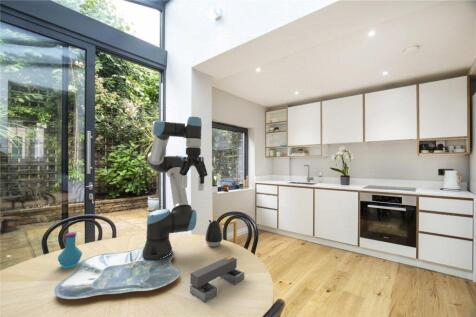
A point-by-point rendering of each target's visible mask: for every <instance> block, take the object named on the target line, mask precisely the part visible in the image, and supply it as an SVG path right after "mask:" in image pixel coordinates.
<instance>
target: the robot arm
mask: <svg viewBox="0 0 476 317" xmlns="http://www.w3.org/2000/svg"><path fill="white" fill-rule="evenodd" d="M202 126H203V125H202V118H201V117H199V116H188V117H187V118H186V121H185V123H183V122H182V123H181V122H174V121H166V120H164V121H163V120H154V121H153V122H152V128H151V129H152V134H153V135H154V137H153V142H152V145H151V150H150V152H149V153H148V155H147V158H146V160H147V161H146V162H147V164H148V166H149V168H150V169H151V170H153V171H154V172H156V173H161V174H162V173H164V174H165V173H166V176H167V177H168V178H169V183H170V190H171V198H172V204H173V208H172V209H171V211H170V209H169V208H162V209H157V210H153V211H151V212H149V213H148V214H147V216H146V217H147V218H146V241H145V243H144V244H145V245H144V246H143V249H142V254H141V256H142V258H143V259H144V260H149V261H156V259H159V260H161V259H160V258H163V257H165V256H167V255H169V254H170V253H171V252H172V253H173V247H172V244H171V240H170V234H174V233H175V234H178V233H184V232H190V231H193V230H195V228H196V225H197V220H198V219H197V215H198V214H197V211H196V210H195V209H193V207H192V205H191V204H189V200H188V196H187V195H188V194H187V190H186V189H187V188H188V172H189V171H190V169H191V167H193V166H194V168H195V169H196V171H197V174H198V182H197V184H198V185H197V188H198V189H197V191H198V192H200V191H201V192H202V191H204V188H205V186H204V184H205V177H208V175H209V174H208V171H207V168H206V165H205V161H204V160H205V159H204V158H205V157H203V156H201V153H202V149H201V147H202ZM170 137H174V138H175V137H178V138H184V139H185V140H186V141H185V146H186V147H185V155H186V156H183V155H164V154H165V152H166V149H167V145H168V143H169V139H170ZM163 259H164V258H163Z"/></svg>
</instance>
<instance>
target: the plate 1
mask: <svg viewBox="0 0 476 317" xmlns="http://www.w3.org/2000/svg"><path fill="white" fill-rule="evenodd" d="M201 287H202V288H204V291H202V290H201V289H200V287H199V288H196V287H195V286H193V285H192V284H190V285H189V293H190V294H191V295H192V296H194V298H195V297H196V298H197V299H198V300H199V301H200V302H203V303H204V304H206V303H207V302H209V301H211V300H213V299H214V298H216V297H217V296H218V287H216V286H215V285H213V284H211V283H210V282H208V283H206V284H204V285H202V286H201Z"/></svg>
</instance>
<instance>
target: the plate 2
mask: <svg viewBox="0 0 476 317" xmlns="http://www.w3.org/2000/svg"><path fill="white" fill-rule="evenodd" d="M230 273H231V274H232V275H231V274H229V272H227V273H226V274H224V275H222V276H220V277H219V278H220V279H223V280H224V281H226V282H228V283H230V284H232V285H234V286H235V285H237V284H239V283H241V282H243V281H244V280H245V272H244V271H242V270H239V269H238V268H235V269H233V270H231V271H230Z"/></svg>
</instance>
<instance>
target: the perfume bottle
mask: <svg viewBox="0 0 476 317" xmlns="http://www.w3.org/2000/svg"><path fill="white" fill-rule="evenodd" d="M77 235H78V234H77V233H76V232H74V231H72V232H71V231H70V232H68V233H67V232H66V234H65V235H64V236H65V247H64V249H63V250H62V252H61V253H60V254H59V255H58V256H57V261H58V262H59V265H60V267H61V269H71V268H73V267H76V266H78V265H79V261H81V258H82V256H83V251H81V250H80V249H79V248H78V247H77V246H76V236H77Z"/></svg>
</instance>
